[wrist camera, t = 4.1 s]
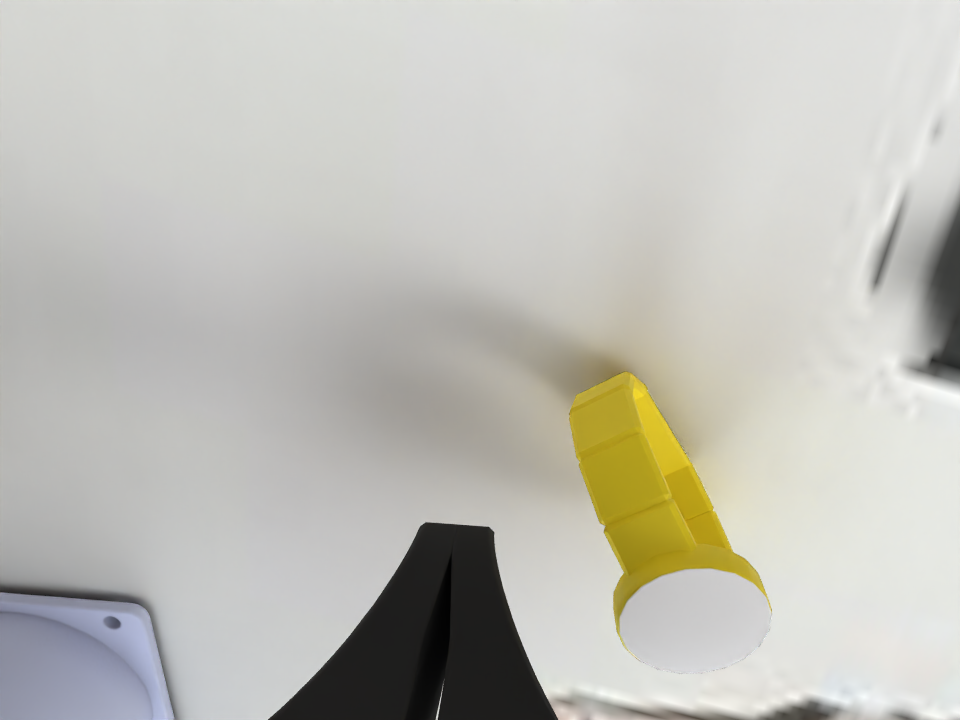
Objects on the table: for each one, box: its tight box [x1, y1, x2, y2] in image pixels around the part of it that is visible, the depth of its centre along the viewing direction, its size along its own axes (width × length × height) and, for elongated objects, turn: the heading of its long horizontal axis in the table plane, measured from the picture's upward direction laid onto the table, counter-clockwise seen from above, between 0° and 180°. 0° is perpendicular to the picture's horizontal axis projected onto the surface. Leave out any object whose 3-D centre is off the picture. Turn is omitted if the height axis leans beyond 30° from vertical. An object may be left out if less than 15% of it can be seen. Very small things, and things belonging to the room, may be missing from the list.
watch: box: [569, 372, 772, 674], centre depth 16 cm, size 6×3×6 cm, turn 32°
